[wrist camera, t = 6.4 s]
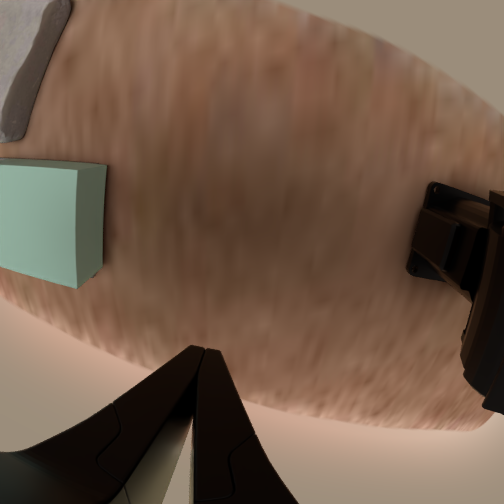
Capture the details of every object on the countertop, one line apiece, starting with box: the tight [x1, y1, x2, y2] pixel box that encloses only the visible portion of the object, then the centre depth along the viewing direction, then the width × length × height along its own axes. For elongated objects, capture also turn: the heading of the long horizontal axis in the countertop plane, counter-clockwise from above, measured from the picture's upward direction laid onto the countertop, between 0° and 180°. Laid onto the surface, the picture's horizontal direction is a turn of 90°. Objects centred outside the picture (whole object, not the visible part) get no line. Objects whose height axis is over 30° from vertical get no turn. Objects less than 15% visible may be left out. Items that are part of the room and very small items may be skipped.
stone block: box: [0, 0, 71, 143], centre depth 15 cm, size 12×5×10 cm
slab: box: [0, 159, 107, 289], centre depth 17 cm, size 4×7×9 cm
